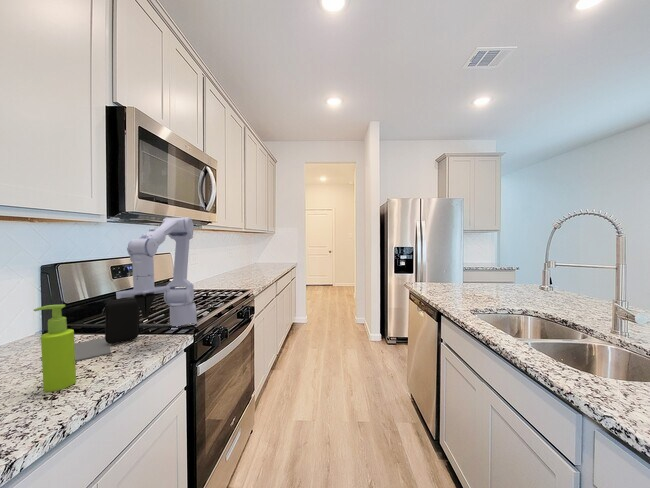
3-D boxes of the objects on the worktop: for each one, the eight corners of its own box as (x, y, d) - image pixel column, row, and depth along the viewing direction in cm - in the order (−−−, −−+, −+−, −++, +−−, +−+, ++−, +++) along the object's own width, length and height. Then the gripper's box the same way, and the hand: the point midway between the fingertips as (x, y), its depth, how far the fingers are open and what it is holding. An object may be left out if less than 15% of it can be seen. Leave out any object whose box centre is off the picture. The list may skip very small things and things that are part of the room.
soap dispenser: (45, 383, 71) (41, 304, 70) (80, 377, 73) (76, 301, 73) (32, 395, 65) (27, 310, 65) (70, 388, 68) (66, 306, 67)
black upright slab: (101, 347, 92) (102, 302, 92) (100, 344, 94) (101, 300, 94) (139, 339, 100) (140, 298, 100) (137, 337, 102) (138, 297, 102)
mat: (108, 337, 102) (108, 336, 102) (110, 353, 88) (110, 352, 88) (55, 348, 93) (55, 347, 93) (48, 367, 79) (48, 366, 79)
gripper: (116, 279, 83) (118, 325, 83) (171, 274, 92) (172, 315, 92) (115, 277, 88) (116, 319, 89) (167, 272, 97) (168, 311, 98)
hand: (145, 317), depth 91 cm, fingers closed
